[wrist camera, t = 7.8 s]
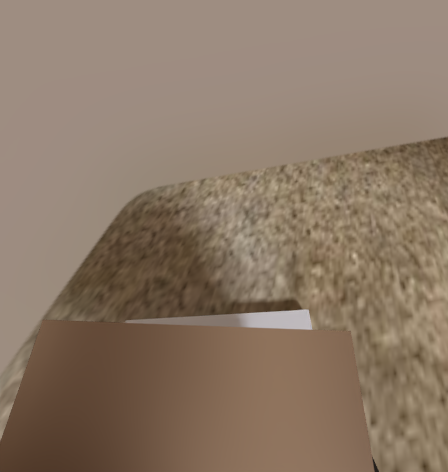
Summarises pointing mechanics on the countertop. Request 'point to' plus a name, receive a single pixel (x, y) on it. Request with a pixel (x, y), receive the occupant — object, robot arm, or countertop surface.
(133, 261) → the countertop surface
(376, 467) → the robot arm
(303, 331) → the walnut block
